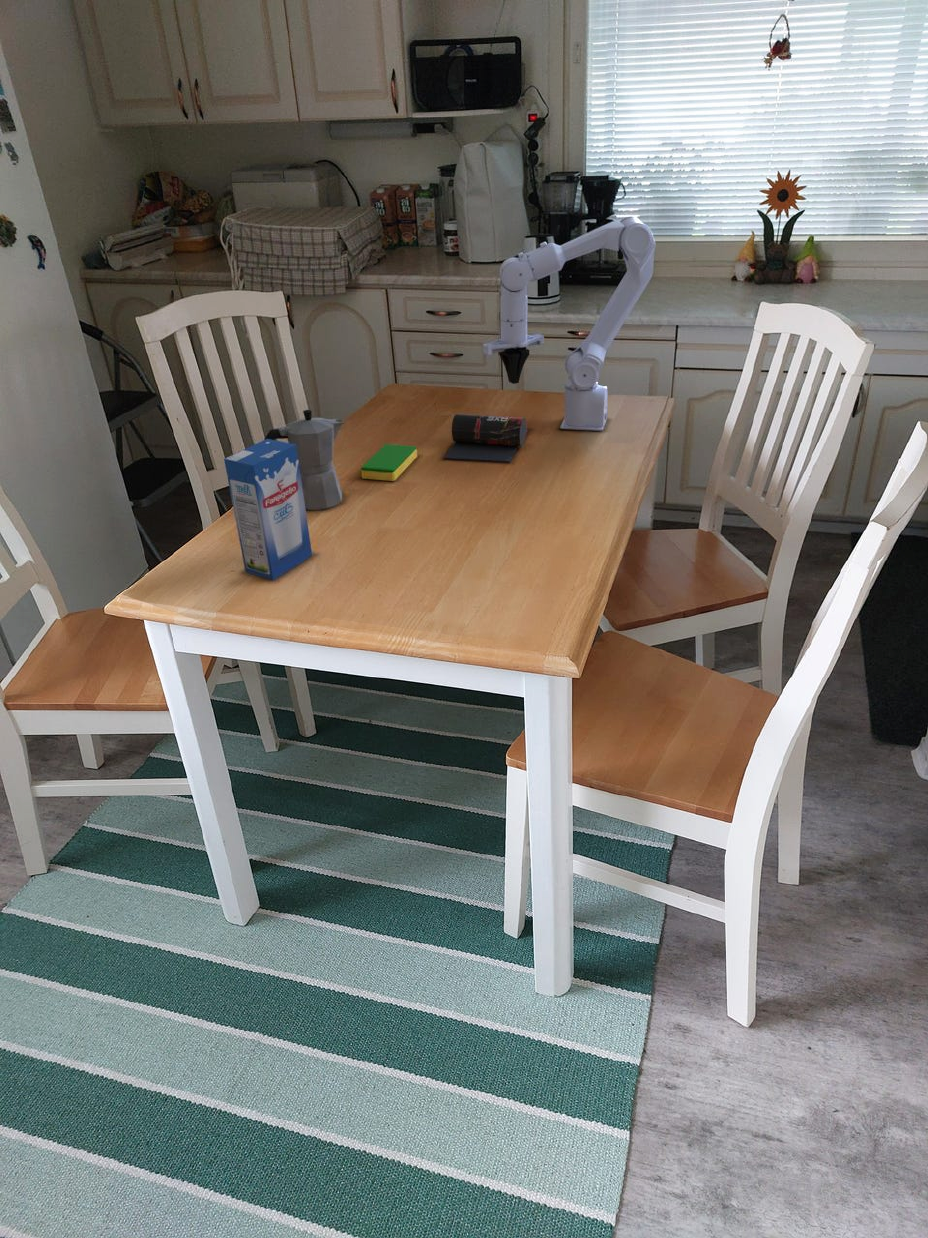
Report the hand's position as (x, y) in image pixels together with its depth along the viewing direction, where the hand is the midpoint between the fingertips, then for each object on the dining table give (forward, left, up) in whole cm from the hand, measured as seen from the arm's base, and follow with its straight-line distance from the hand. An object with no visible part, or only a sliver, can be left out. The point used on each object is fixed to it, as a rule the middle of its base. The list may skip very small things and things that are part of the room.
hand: (513, 382), depth 202 cm
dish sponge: (+21, +27, -11) cm, 35 cm away
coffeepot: (+30, +46, -11) cm, 56 cm away
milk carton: (+26, +71, -11) cm, 76 cm away
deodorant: (-5, +12, -7) cm, 14 cm away
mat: (+4, +11, -10) cm, 15 cm away
